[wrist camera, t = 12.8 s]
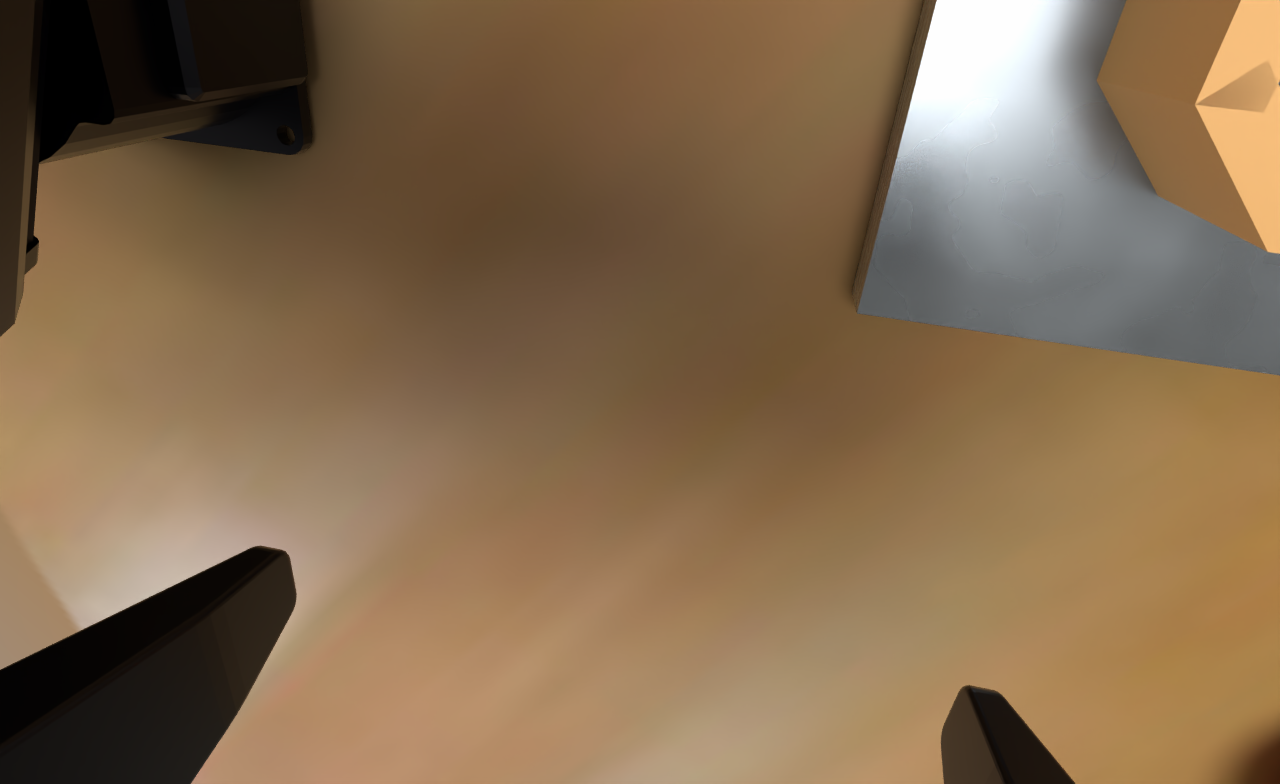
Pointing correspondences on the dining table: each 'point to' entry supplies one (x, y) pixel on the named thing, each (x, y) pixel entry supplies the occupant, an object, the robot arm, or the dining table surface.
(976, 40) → the piston stand
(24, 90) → the robot arm
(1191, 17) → the collar
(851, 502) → the dining table surface
